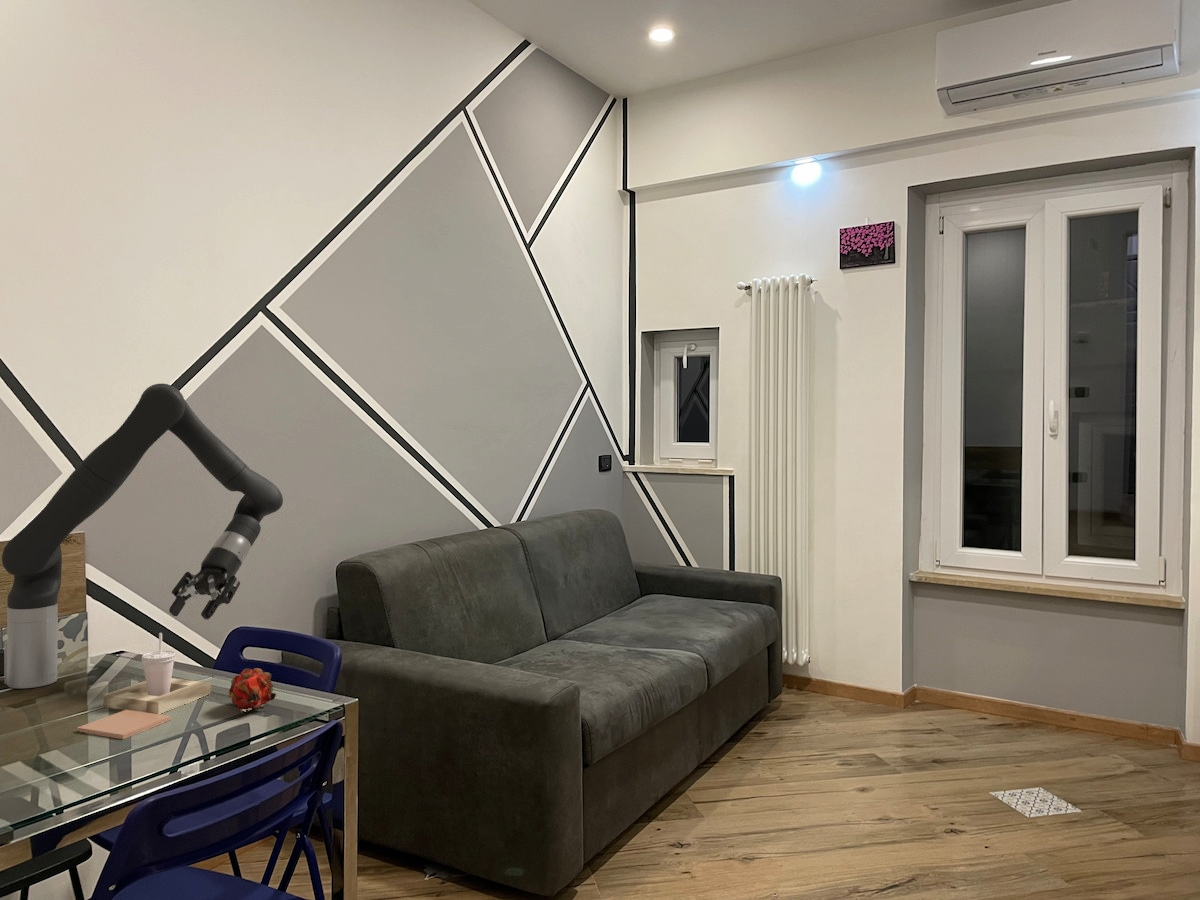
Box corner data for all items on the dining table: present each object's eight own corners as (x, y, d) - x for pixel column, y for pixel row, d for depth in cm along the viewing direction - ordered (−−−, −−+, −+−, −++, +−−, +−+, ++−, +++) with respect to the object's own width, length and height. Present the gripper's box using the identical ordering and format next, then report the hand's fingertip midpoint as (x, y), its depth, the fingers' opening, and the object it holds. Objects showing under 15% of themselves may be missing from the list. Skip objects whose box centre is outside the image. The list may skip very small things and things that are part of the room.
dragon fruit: (253, 705, 181) (256, 731, 170) (218, 686, 177) (219, 712, 167) (279, 672, 182) (284, 696, 171) (245, 652, 178) (247, 676, 168)
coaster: (77, 731, 159) (77, 727, 159) (126, 713, 170) (126, 709, 170) (123, 739, 156) (123, 734, 156) (170, 720, 166) (170, 716, 166)
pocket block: (103, 707, 174) (103, 694, 173) (158, 687, 187) (158, 676, 187) (158, 715, 169) (158, 702, 169) (210, 694, 183) (210, 683, 182)
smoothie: (182, 696, 181) (182, 630, 181) (163, 706, 175) (164, 638, 174) (153, 695, 182) (153, 629, 181) (134, 704, 175) (134, 636, 175)
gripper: (193, 544, 196) (152, 603, 185) (244, 547, 191) (206, 608, 181) (210, 564, 201) (171, 622, 190) (260, 567, 196) (224, 628, 186)
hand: (188, 615), depth 185 cm, fingers open, 8 cm apart
